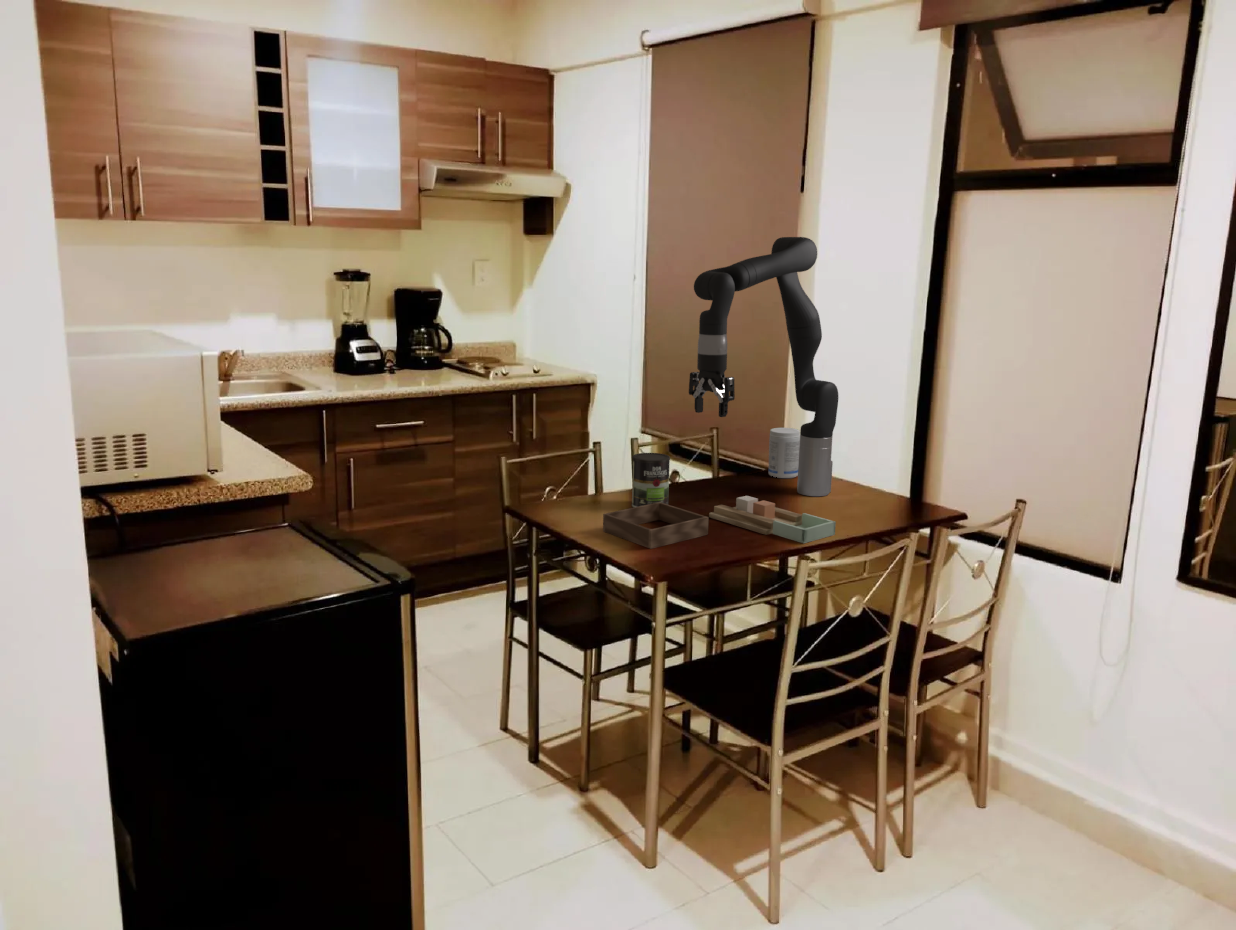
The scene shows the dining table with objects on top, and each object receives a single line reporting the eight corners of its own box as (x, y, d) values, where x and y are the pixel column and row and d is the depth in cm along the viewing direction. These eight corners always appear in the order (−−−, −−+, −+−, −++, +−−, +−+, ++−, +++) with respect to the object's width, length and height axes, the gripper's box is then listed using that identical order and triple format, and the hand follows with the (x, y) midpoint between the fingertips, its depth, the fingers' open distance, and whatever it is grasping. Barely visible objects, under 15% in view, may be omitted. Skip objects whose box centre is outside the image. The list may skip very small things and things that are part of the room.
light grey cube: (746, 510, 254) (746, 495, 253) (757, 513, 251) (758, 498, 250) (735, 512, 252) (736, 497, 251) (746, 515, 249) (747, 501, 248)
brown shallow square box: (659, 518, 249) (659, 502, 248) (707, 534, 236) (708, 517, 235) (603, 531, 238) (603, 513, 237) (650, 548, 224) (651, 530, 223)
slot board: (750, 507, 261) (750, 498, 261) (807, 523, 246) (807, 513, 246) (709, 517, 251) (709, 507, 251) (765, 534, 236) (766, 524, 236)
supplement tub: (799, 473, 303) (802, 428, 299) (797, 480, 294) (800, 433, 290) (769, 471, 305) (771, 426, 302) (766, 477, 296) (768, 431, 293)
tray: (803, 525, 245) (804, 513, 244) (834, 534, 237) (835, 521, 236) (772, 533, 237) (773, 520, 236) (803, 543, 230) (804, 530, 229)
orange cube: (762, 514, 250) (763, 500, 249) (774, 518, 247) (775, 503, 246) (752, 517, 247) (753, 502, 246) (764, 520, 244) (764, 505, 243)
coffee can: (673, 509, 258) (675, 459, 255) (638, 512, 255) (638, 461, 252) (661, 500, 268) (662, 451, 265) (627, 502, 265) (627, 453, 262)
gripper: (743, 353, 238) (740, 416, 242) (703, 348, 249) (701, 409, 252) (722, 355, 233) (720, 420, 237) (682, 350, 244) (681, 412, 248)
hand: (710, 414), depth 245 cm, fingers open, 8 cm apart
